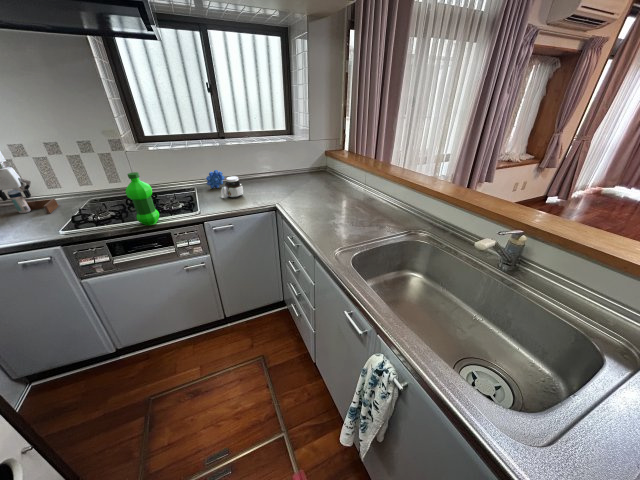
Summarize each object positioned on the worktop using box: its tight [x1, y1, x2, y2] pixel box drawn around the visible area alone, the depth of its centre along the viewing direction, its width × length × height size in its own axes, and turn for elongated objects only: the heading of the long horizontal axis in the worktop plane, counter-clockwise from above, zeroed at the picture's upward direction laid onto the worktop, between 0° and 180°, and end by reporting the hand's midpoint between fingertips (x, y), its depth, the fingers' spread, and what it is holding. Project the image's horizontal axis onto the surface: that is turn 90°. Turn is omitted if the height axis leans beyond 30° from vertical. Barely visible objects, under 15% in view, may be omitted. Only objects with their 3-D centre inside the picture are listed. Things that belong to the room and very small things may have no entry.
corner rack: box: [26, 198, 59, 215], centre depth 143 cm, size 15×12×4 cm
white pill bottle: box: [6, 189, 32, 214], centre depth 141 cm, size 5×5×12 cm
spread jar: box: [220, 175, 244, 199], centre depth 161 cm, size 12×11×12 cm
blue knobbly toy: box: [205, 169, 225, 189], centre depth 176 cm, size 12×7×12 cm, turn 116°
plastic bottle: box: [125, 171, 160, 226], centre depth 126 cm, size 10×10×25 cm
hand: (17, 198), depth 140 cm, fingers open, 9 cm apart
